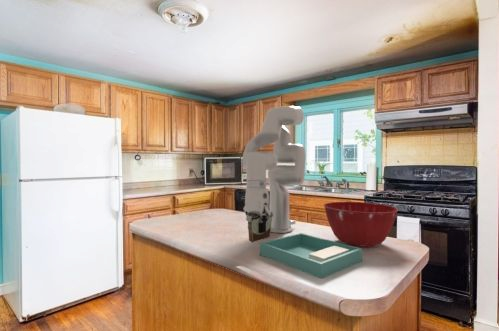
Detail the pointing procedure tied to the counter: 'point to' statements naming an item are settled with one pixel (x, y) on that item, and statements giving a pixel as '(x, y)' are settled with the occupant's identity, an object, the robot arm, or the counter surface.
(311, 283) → the counter surface
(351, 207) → the mixing bowl
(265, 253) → the tray
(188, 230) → the counter surface
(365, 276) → the counter surface
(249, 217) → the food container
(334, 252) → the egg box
